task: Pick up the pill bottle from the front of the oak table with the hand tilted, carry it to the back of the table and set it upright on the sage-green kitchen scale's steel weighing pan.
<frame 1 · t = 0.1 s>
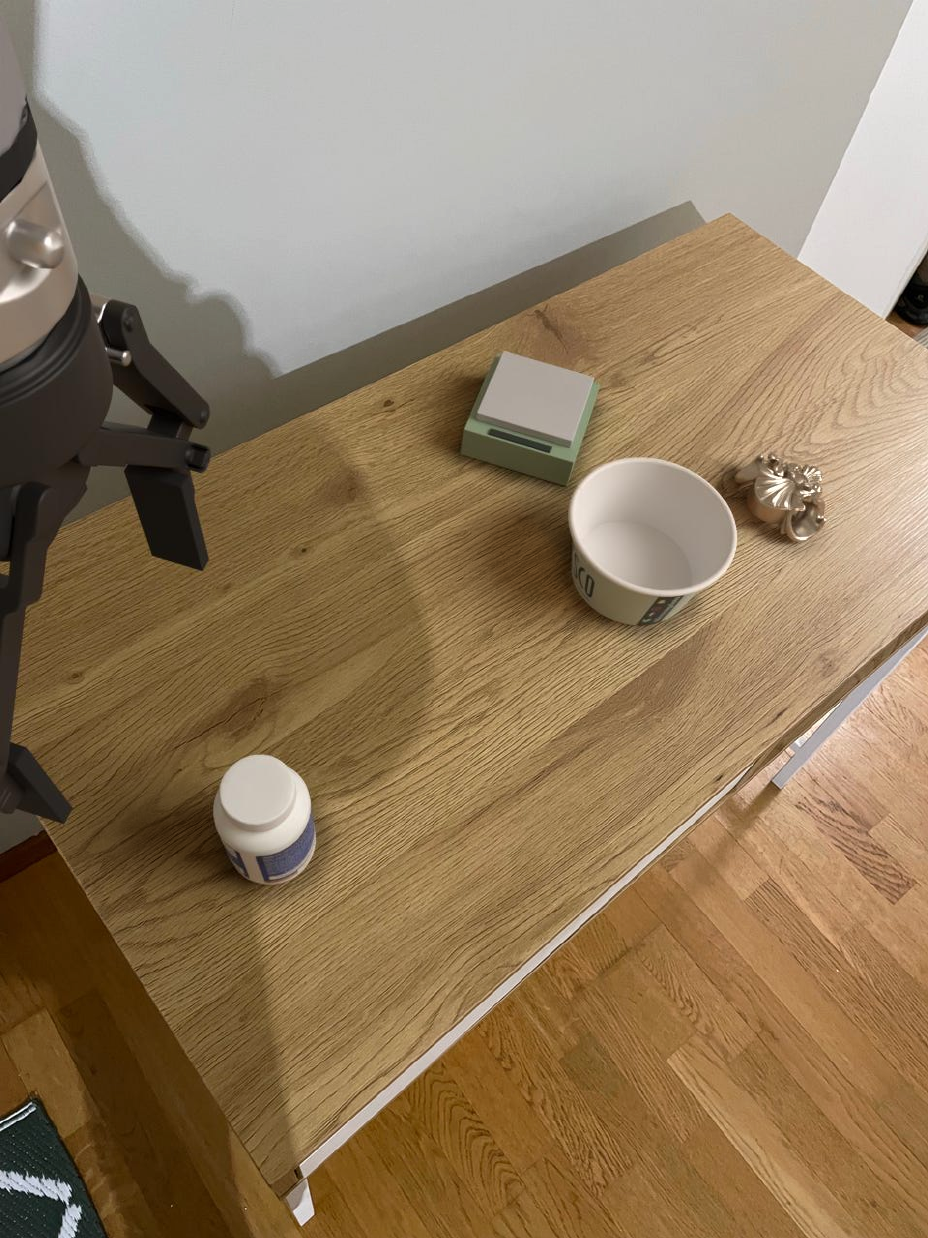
hand: (115, 672, 43), 18 cm above the table, tool pointing down, fingers open, 13 cm apart
ornament: (777, 505, 76), on the table
scale: (528, 431, 78), on the table
food container: (630, 574, 71), on the table
pill bottle: (273, 844, 58), on the table
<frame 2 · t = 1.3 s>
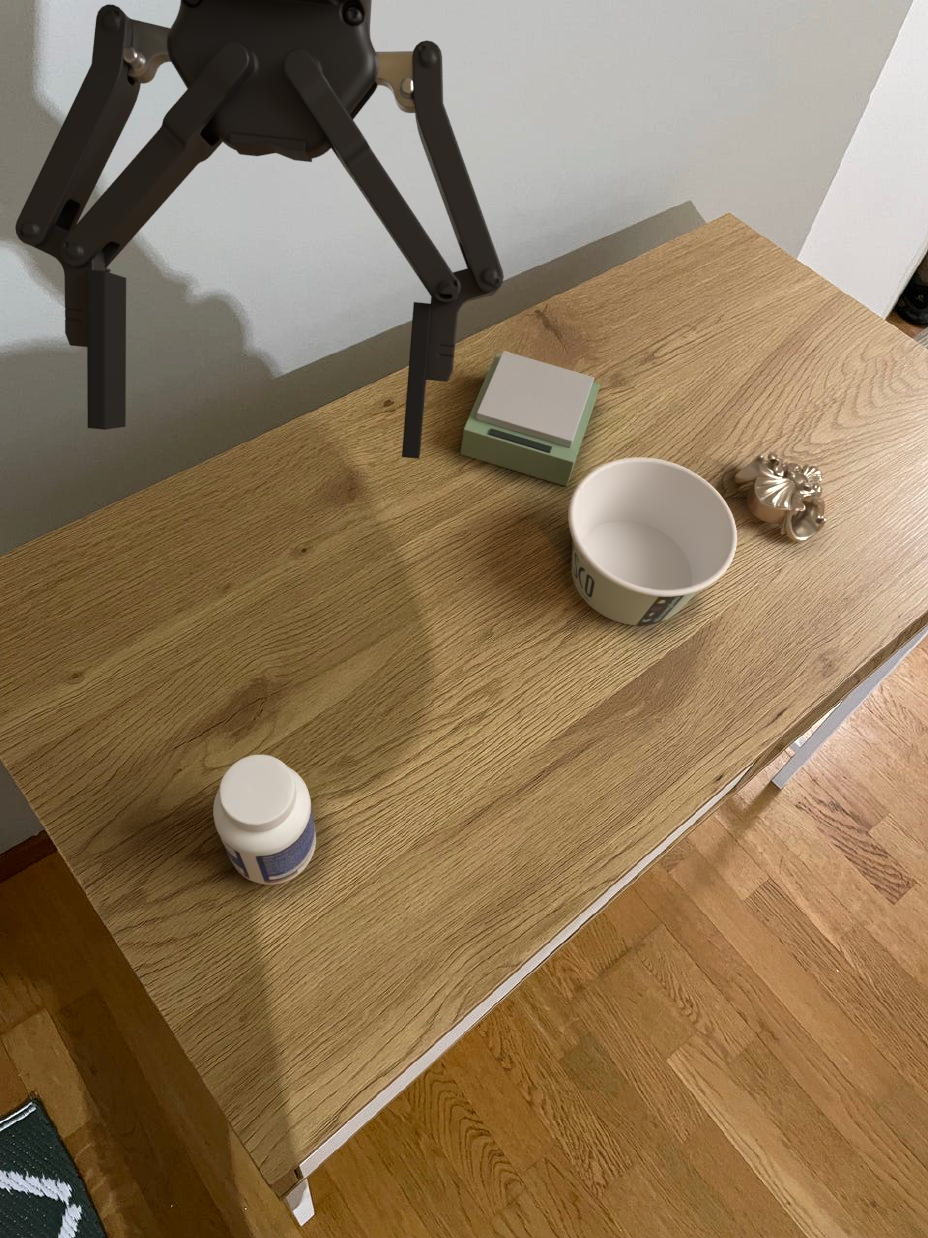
hand: (260, 442, 42), 25 cm above the table, tool tilted 45°, fingers open, 13 cm apart
nothing on the table moved.
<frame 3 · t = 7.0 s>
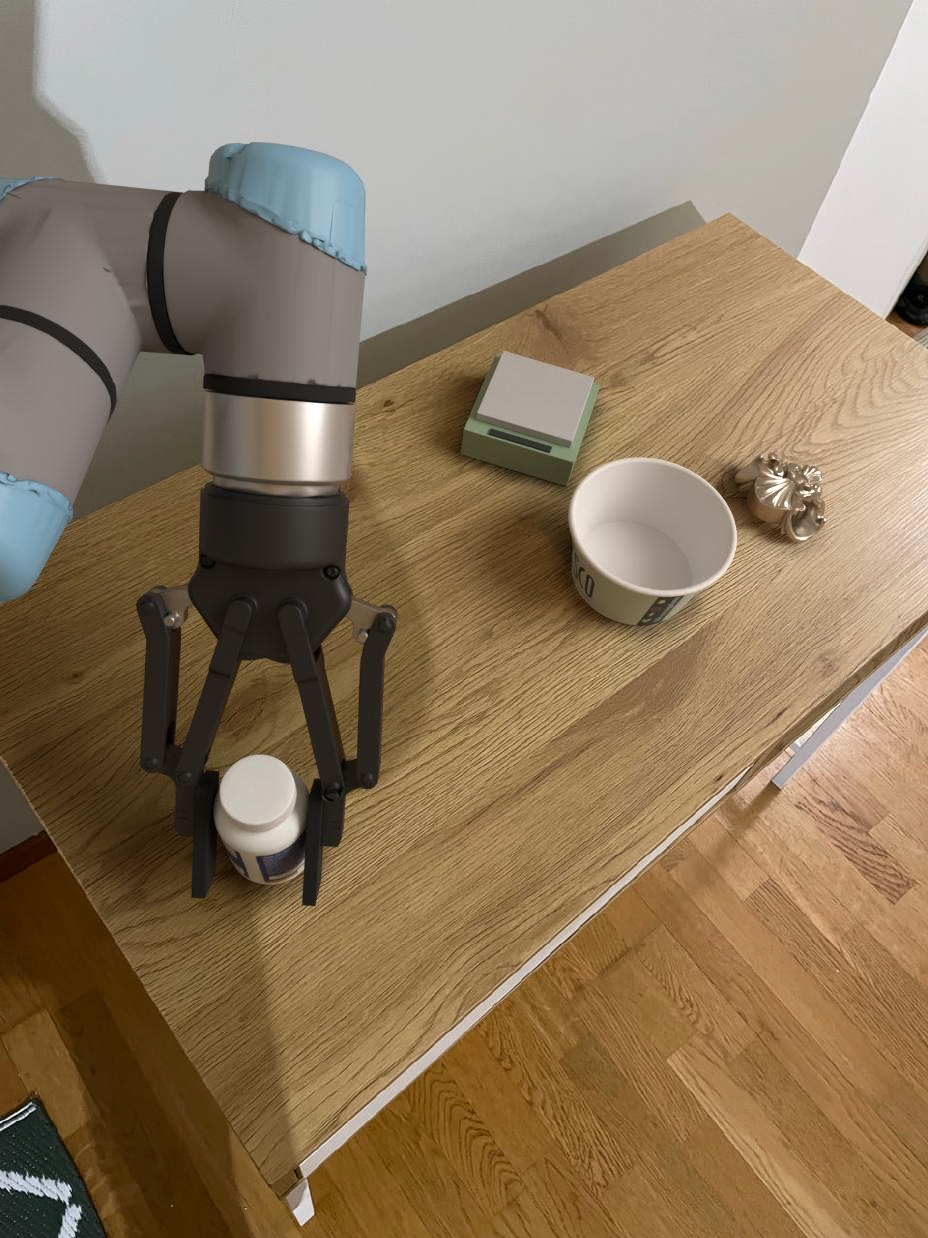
hand: (258, 888, 54), 3 cm above the table, tool tilted 45°, fingers closed on pill bottle, 5 cm apart
pill bottle: (273, 844, 58), on the table, touching gripper
everything else where it was.
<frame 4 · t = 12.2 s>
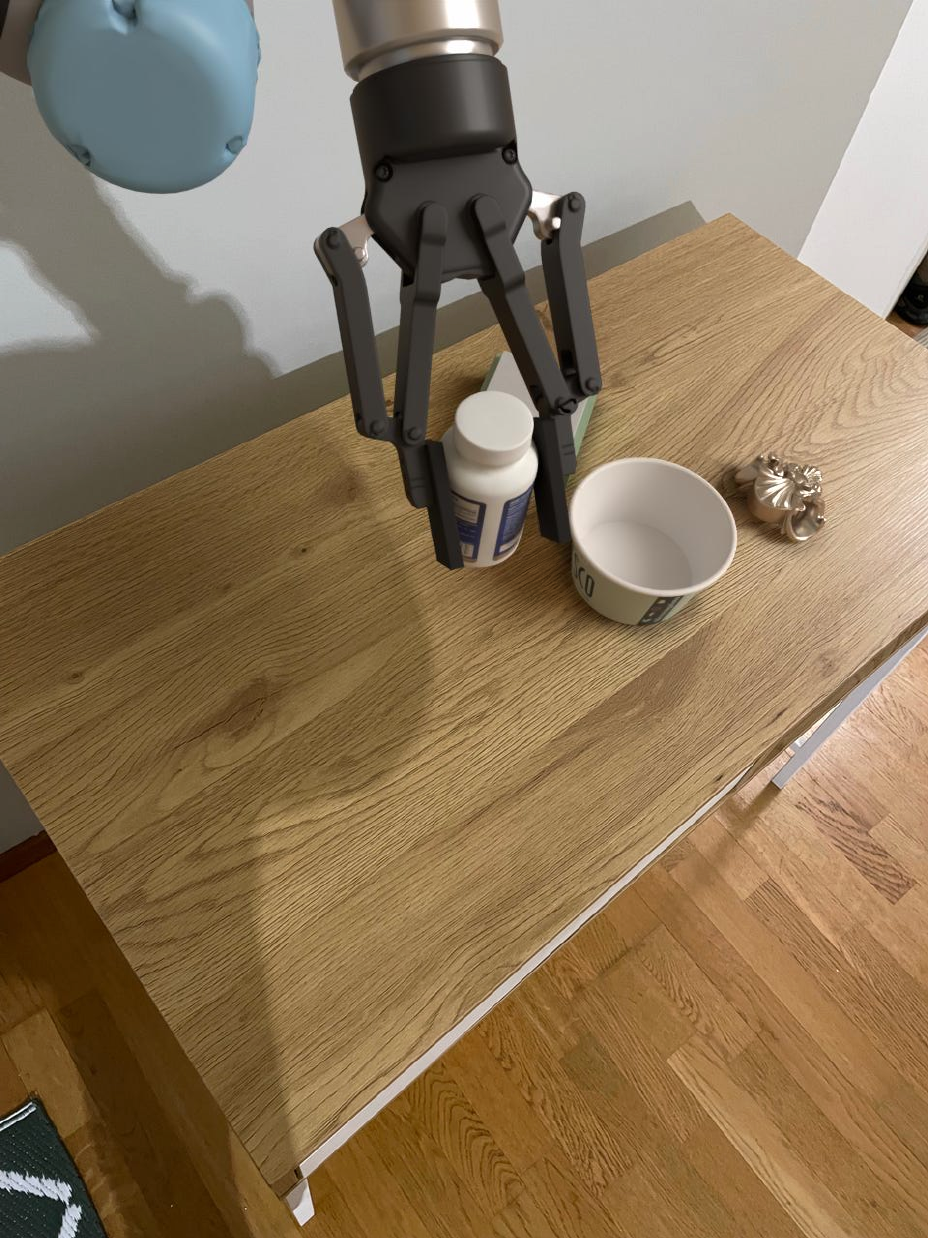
hand: (503, 550, 50), 17 cm above the table, tool tilted 45°, fingers closed on pill bottle, 5 cm apart
pill bottle: (474, 534, 55), point 13 cm above the table, touching gripper
everything else where it was.
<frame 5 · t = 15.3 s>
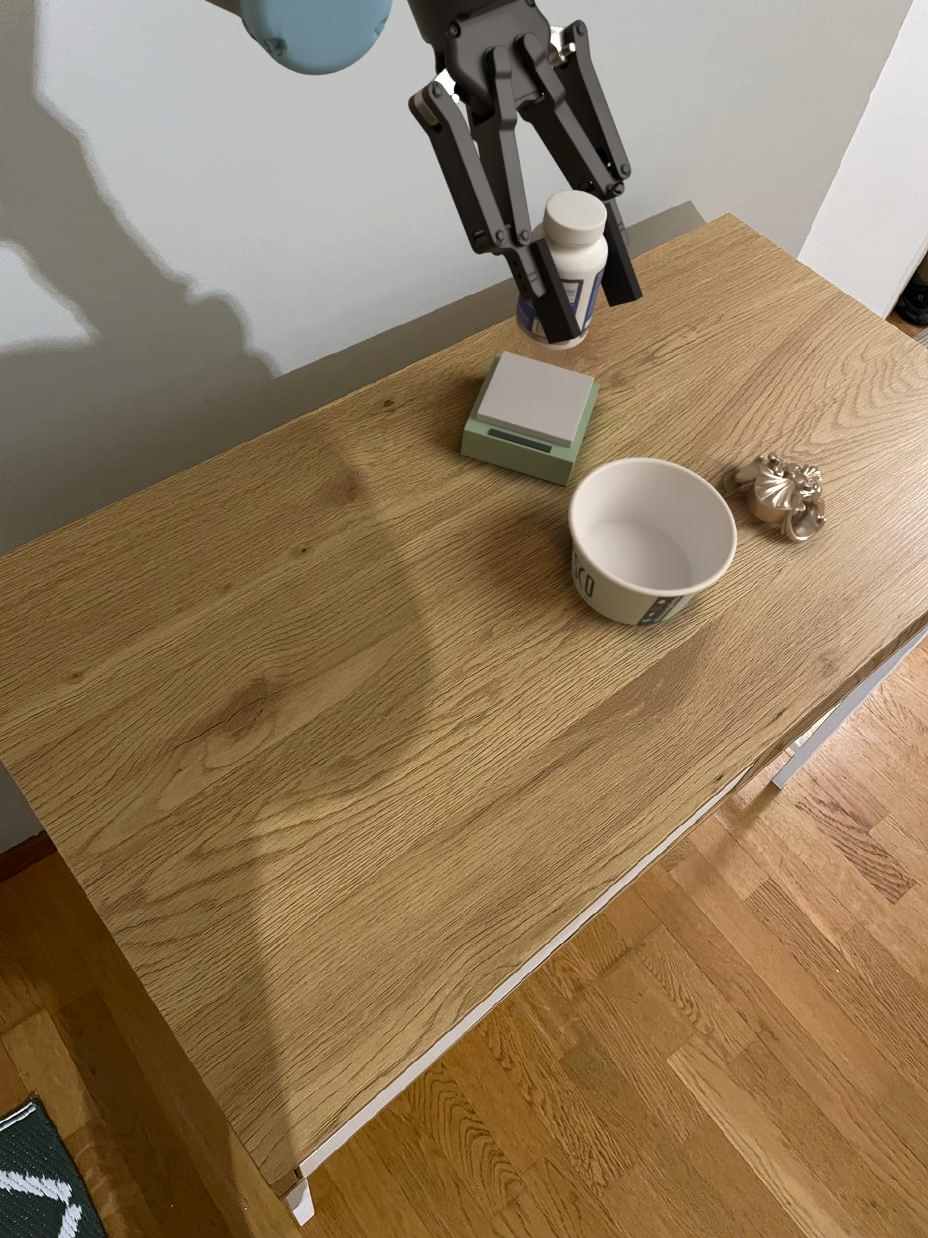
hand: (596, 319, 64), 14 cm above the table, tool tilted 45°, fingers closed on pill bottle, 5 cm apart
pill bottle: (550, 328, 68), point 11 cm above the table, touching gripper
everything else where it was.
when the fingers open (7 cm above the table, at t = 17.7 s): pill bottle stays where it is, resting on scale.
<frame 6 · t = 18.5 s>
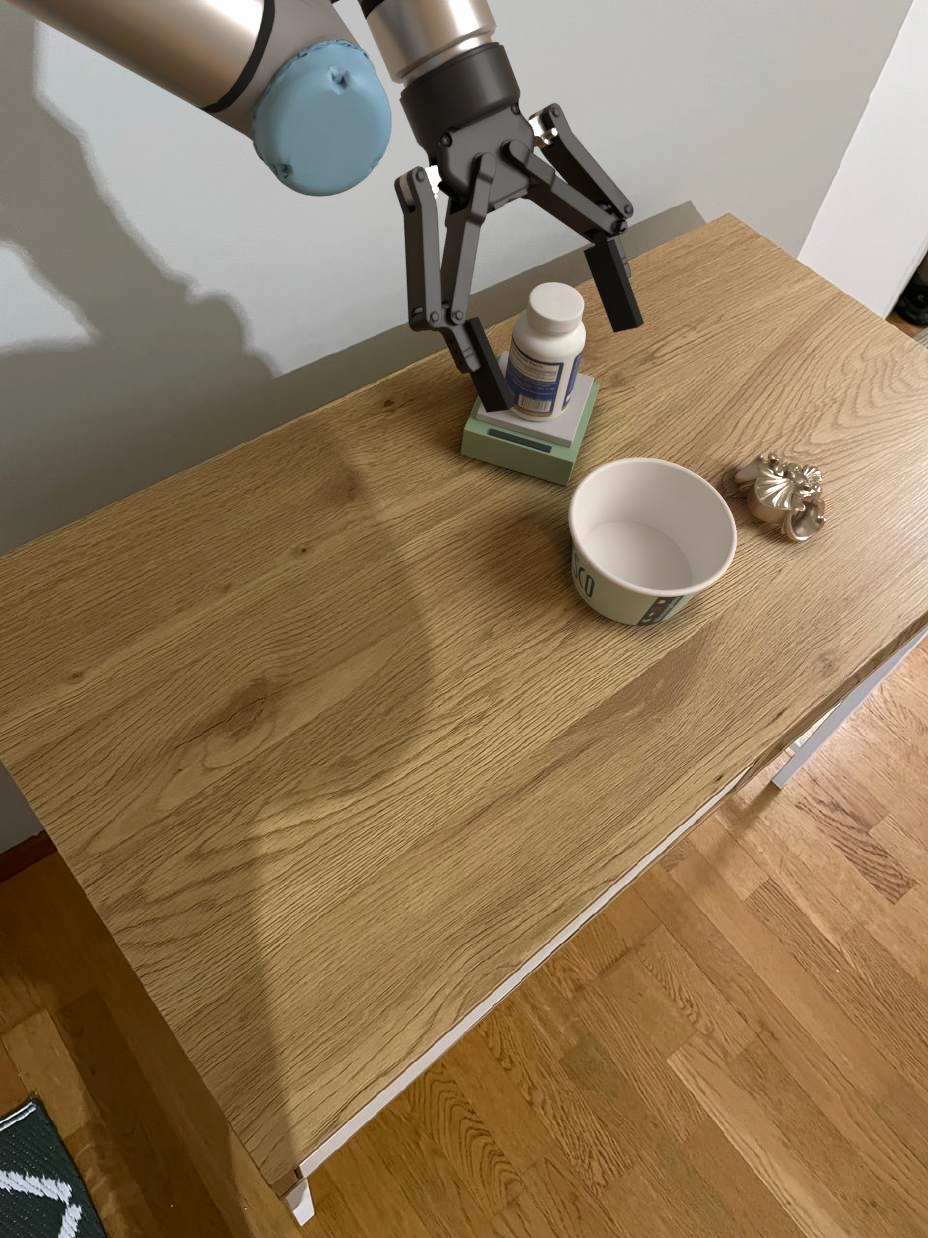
hand: (567, 367, 69), 9 cm above the table, tool tilted 45°, fingers open, 13 cm apart
pill bottle: (534, 400, 74), point 4 cm above the table, touching scale
everything else where it was.
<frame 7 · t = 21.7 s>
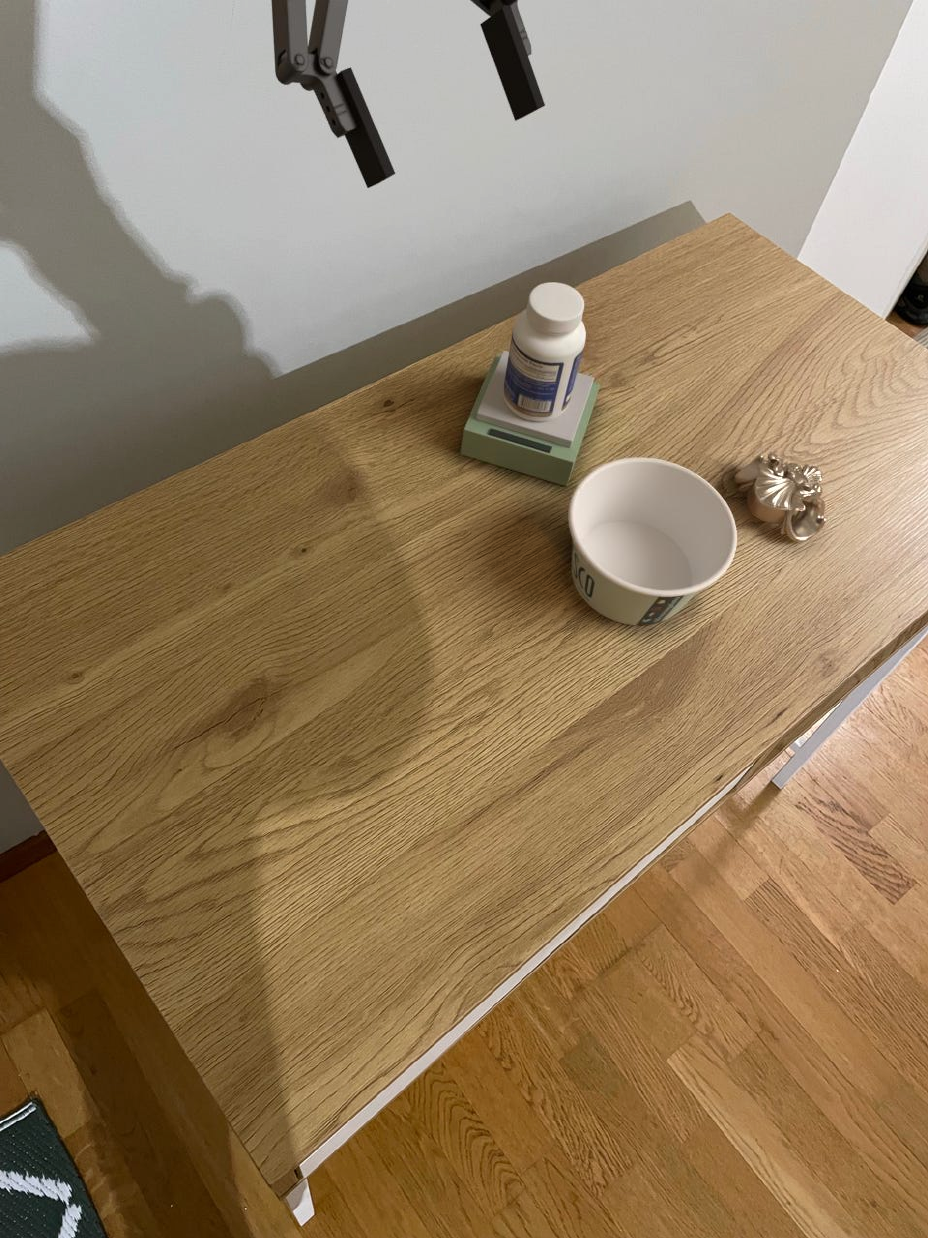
hand: (459, 146, 64), 20 cm above the table, tool tilted 45°, fingers open, 13 cm apart
nothing on the table moved.
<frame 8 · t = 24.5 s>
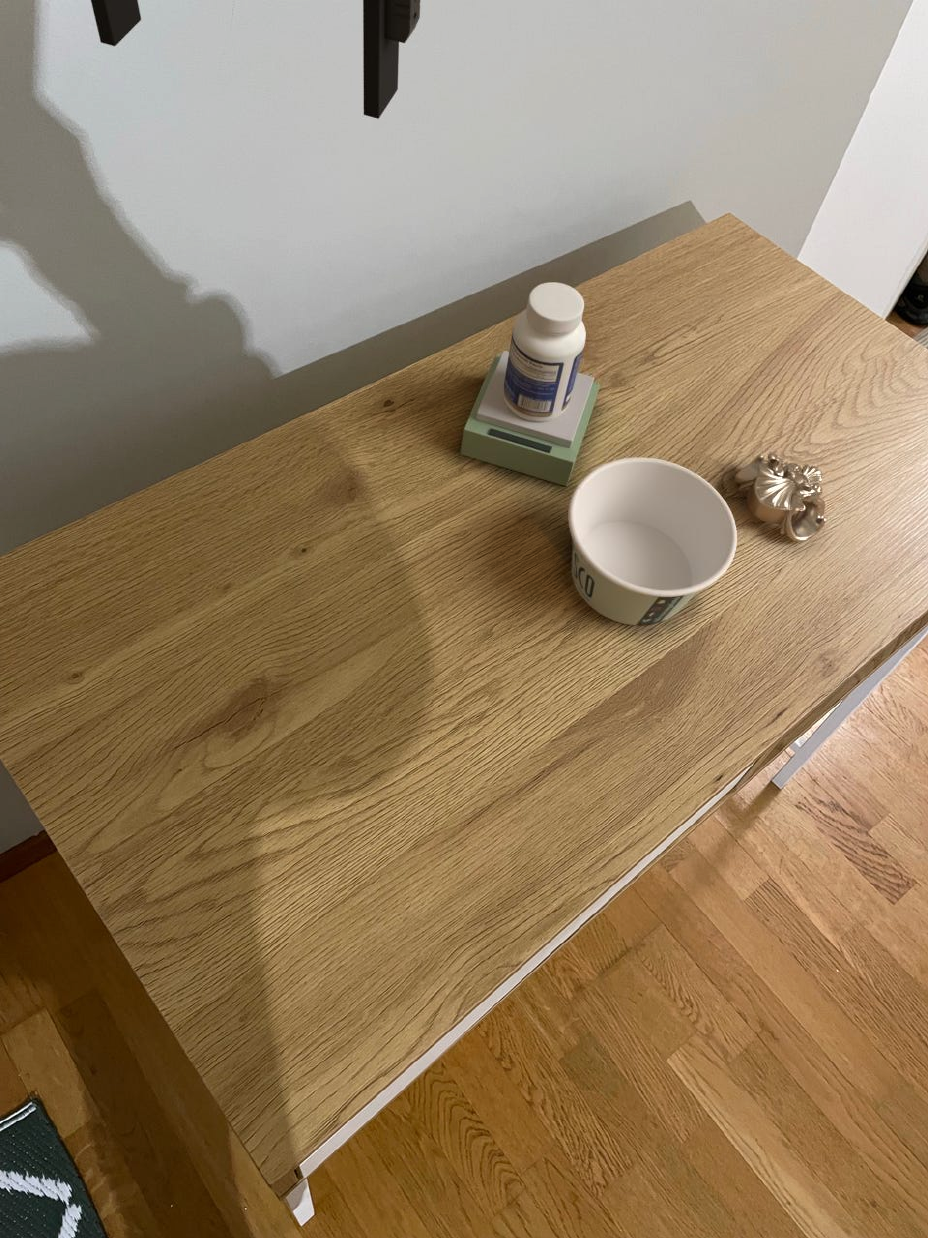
hand: (249, 66, 46), 32 cm above the table, tool pointing down, fingers open, 13 cm apart
nothing on the table moved.
at the end: pill bottle inside the target area on the scale (0.5 cm from its centre), point 3.6 cm above the scale's base; pill bottle tilted 0°; the gripper is holding nothing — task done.
